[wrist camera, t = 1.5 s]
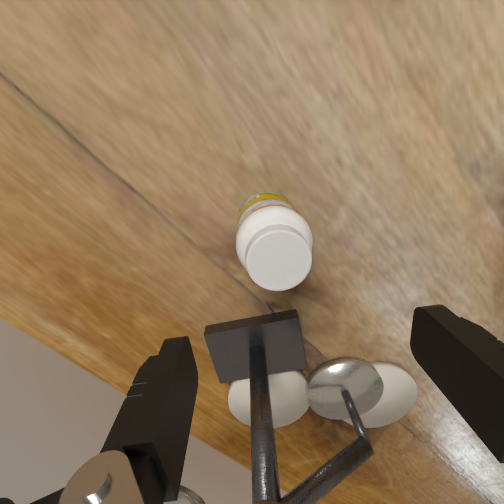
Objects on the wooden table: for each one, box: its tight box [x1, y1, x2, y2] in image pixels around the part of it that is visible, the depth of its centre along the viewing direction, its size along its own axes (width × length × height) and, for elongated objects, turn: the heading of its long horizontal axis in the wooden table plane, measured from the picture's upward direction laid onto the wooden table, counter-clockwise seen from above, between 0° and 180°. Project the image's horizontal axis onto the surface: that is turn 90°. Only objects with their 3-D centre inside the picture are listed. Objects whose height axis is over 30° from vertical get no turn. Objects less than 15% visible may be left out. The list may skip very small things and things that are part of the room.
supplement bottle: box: [236, 192, 313, 291], centre depth 20 cm, size 5×5×10 cm
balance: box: [163, 309, 384, 504], centre depth 21 cm, size 21×7×19 cm, turn 102°
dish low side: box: [343, 361, 418, 428], centre depth 33 cm, size 10×10×1 cm
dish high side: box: [228, 370, 309, 428], centre depth 32 cm, size 10×10×1 cm
